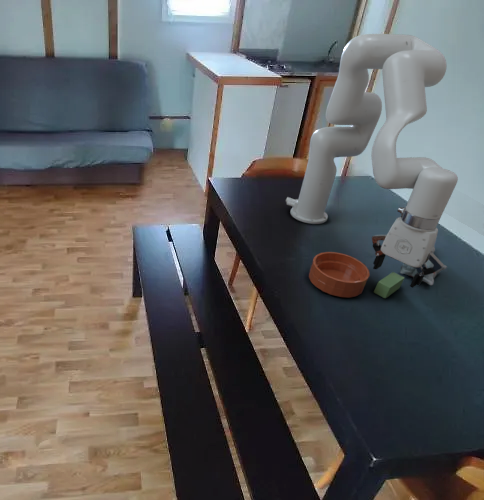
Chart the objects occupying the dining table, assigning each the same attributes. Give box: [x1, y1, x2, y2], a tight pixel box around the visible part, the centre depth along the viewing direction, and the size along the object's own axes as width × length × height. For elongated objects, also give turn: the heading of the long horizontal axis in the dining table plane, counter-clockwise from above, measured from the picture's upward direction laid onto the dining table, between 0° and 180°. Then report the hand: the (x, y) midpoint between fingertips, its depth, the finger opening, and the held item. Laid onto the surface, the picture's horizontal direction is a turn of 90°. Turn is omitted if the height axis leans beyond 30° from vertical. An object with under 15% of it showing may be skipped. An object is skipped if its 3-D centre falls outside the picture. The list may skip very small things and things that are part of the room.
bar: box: [373, 271, 405, 299], centre depth 110 cm, size 8×3×4 cm, turn 126°
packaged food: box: [399, 260, 448, 286], centre depth 116 cm, size 9×12×5 cm
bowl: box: [308, 251, 371, 298], centre depth 111 cm, size 14×14×6 cm
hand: (394, 276), depth 107 cm, fingers open, 9 cm apart
